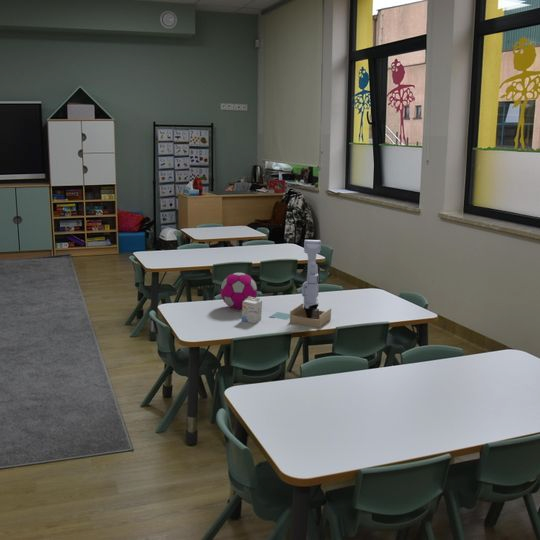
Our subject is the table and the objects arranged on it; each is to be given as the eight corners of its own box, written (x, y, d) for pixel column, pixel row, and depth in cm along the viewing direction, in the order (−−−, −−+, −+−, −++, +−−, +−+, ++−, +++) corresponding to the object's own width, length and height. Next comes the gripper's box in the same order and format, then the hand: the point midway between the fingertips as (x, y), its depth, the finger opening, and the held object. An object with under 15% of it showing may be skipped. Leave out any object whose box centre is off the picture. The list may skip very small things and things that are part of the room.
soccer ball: (249, 315, 397) (250, 278, 392) (214, 310, 404) (215, 275, 399) (261, 305, 418) (262, 271, 413) (228, 301, 424) (228, 267, 419)
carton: (301, 314, 402) (302, 303, 400) (330, 319, 394) (331, 308, 393) (289, 322, 386) (290, 311, 384) (319, 327, 378) (320, 315, 377)
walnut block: (305, 318, 394) (306, 306, 392) (318, 320, 390) (319, 308, 389) (302, 320, 390) (303, 308, 388) (315, 322, 386) (316, 310, 385)
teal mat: (277, 312, 404) (277, 312, 404) (294, 315, 400) (294, 314, 400) (269, 317, 395) (269, 316, 395) (286, 320, 390) (286, 319, 390)
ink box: (241, 320, 386) (242, 298, 383) (248, 317, 394) (249, 295, 390) (254, 323, 382) (255, 300, 379) (261, 319, 390) (262, 297, 387)
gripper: (313, 298, 378) (312, 321, 381) (322, 292, 391) (321, 315, 394) (302, 296, 381) (300, 319, 384) (311, 291, 394) (310, 313, 397)
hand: (310, 317), depth 390 cm, fingers open, 5 cm apart
